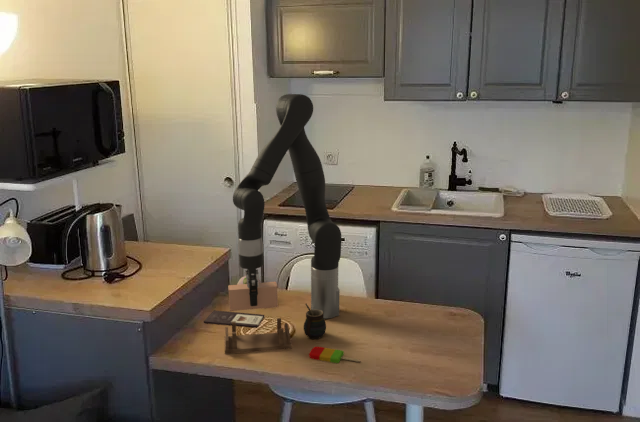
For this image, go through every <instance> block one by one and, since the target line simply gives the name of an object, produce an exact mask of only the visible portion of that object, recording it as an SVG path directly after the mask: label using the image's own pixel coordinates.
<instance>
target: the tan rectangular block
mask: <svg viewBox="0 0 640 422" xmlns="http://www.w3.org/2000/svg"><path fill="white" fill-rule="evenodd" d="M258 285H259V286H258V295H257V306H251V305H250V295H249V288H248V287H247V284H239V285H237V284H229V285H228V288H227V289H228V301H229V304H228V305H229V312H237V311H245V310H246V311H247V310H248V311H249V310H260V309H270V308H272V309H273V308H278V307H279V305H278V304H279V300H278V284H277V281H266V282H261V283H258ZM251 291H256V290H251Z"/></svg>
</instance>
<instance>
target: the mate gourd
mask: <svg viewBox="0 0 640 422" xmlns="http://www.w3.org/2000/svg"><path fill="white" fill-rule="evenodd" d="M305 307H306V308H307V309H308V310H307V311H306V312H305V321H304V323H303V331H304V335H305V336H306V337H308V338H309V339H310V340H318V339H321V338H323V337H324V335H325V333H326V331H327V323H326V320H325V319H324V318H323V316H324V315H323V314H324V313H323V311H321V310H317V309H314V310H311V307H309V305H308V304H307V303H305Z"/></svg>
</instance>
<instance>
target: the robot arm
mask: <svg viewBox="0 0 640 422" xmlns="http://www.w3.org/2000/svg"><path fill="white" fill-rule="evenodd" d="M275 105H276V106H275V112H276V116H277V119H278V121H279V125H280V127H279V128H278V130H277V132H276V133H275V134H274V135H273V137H271V139H270V140H269V141H268V142H267V144H266V145H264V147H263V148H262V149H261V150H260V152H259V153H258V155H257V157H256V159H255V161H253V165H252V167H251V168H250V171H249V172H248V173H247V174H246V175H245V177H244V178H243V179H242V180H241V181H240V182H239V184H238V185H237V186H236V188H235V189H234V192H233V194H232V203H233V205H234V207H236V208H237V209H240V210H242V211H243V217H242V218H241V219H239V221H238V223H237V230H238V231H237V233H238V234H237V235H238V241H237V247H238V262H239V263H238V265H239V267H240V268H241V269H244V271H245V272H244V273H245V276H246V279H247V287H248V288H249V295H250V305H251V306H257V295H258V286H259V285H258V278H259V279H260V275H259V268H262V267H263V266H264V263H265V262H264V243H263V237H262V236H263V235H262V221H263V216H264V211H265V205H266V204H265V198H264V195H263V193H262V192H261V191H259V190H260V189H261V188H262V187H264V186H268V185H269V184H270V183H271V181H272V180H273V178H274V177H275V174H276V172H277V170H278V168H279V166H280V164H281V163H282V161H283V159H284V157H285V156H286V154H287V152H288V153H289V158H290V161H291V165H292V169H293V173H294V177H295V181H296V185H297V188H298V191H299V194H300V198H301V201H302V204H303V206H304V207H303V208H304V211H305V217H306V225H307V232H308V235H309V238H310V240H312V242H314V251H313V252H314V253H313V256H311V259H310V310H314V309H317V310H321V311H323V313H324V314H323V315H324V316H323V318H324V320H325V319H333V318H335V317H339V316H340V294H341V293H340V292H341V291H340V288H339V262H340V259H341V257H342V255H341V253H342V232H341V229H340V227H339V225H337V224H336V222H333V221H332V218H331V216H330V214H329V211H328V208H327V203H326V178H325V172H324V168H323V164H322V161H321V159H320V157H319V155H318V152H317V151H316V149H315V148H314V146H313V145H312V144H311V142H310V140H309V138H308V136H307V133H306V130H305V129H306V128H305V126H307V124H308V123H309V121H310V120H311V118H312V116H313V113H314V104H313V101H312V100H311V98H310V97H309V96H307V95H306V94H301V93H290V94H287V93H286V94H284V95H281V96H280V97H279V98H278V100H277V102H276V104H275ZM251 290H256V291H251Z"/></svg>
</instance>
